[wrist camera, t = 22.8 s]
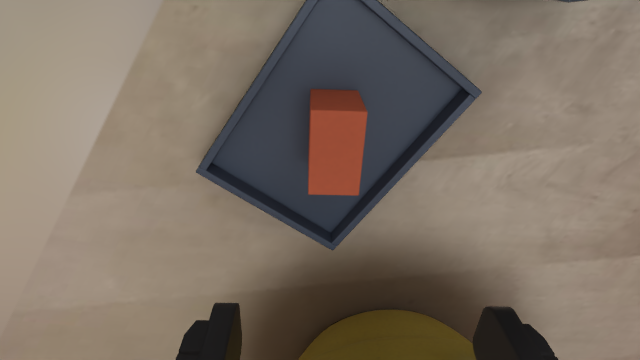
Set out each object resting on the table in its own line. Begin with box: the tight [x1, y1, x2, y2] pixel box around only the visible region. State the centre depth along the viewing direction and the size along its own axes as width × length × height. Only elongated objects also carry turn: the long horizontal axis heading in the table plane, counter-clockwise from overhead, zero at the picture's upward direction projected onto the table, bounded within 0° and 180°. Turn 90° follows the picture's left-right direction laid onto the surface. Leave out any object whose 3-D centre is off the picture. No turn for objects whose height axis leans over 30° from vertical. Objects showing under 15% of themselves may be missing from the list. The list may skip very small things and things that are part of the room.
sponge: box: [308, 89, 368, 196], centre depth 26 cm, size 4×6×5 cm, turn 178°
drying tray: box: [196, 0, 482, 250], centre depth 28 cm, size 17×13×2 cm
